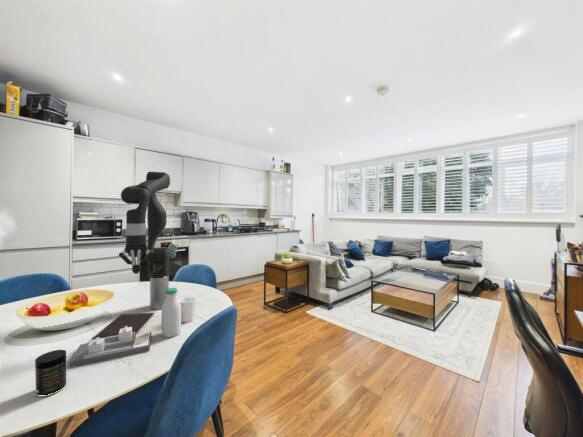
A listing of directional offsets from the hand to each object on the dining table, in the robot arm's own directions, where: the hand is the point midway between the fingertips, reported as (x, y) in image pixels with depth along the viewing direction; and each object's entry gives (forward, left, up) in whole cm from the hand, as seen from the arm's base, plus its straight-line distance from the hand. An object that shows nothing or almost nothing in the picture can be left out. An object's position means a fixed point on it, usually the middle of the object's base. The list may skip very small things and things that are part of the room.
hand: (136, 273), depth 107 cm
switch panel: (+11, -6, -27) cm, 30 cm away
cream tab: (+8, -3, -25) cm, 26 cm away
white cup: (-6, +21, -27) cm, 35 cm away
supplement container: (+28, -19, -27) cm, 43 cm away
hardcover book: (-9, -5, -28) cm, 30 cm away
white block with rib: (+14, -11, -25) cm, 30 cm away
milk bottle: (+6, +14, -27) cm, 31 cm away
